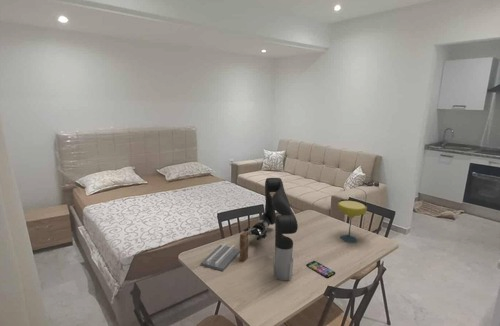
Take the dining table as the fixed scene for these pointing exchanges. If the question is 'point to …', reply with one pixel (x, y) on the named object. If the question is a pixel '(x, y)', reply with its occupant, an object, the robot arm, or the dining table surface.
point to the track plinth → (221, 257)
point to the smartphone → (320, 269)
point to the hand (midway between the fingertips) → (250, 237)
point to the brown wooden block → (243, 246)
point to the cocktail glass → (351, 214)
